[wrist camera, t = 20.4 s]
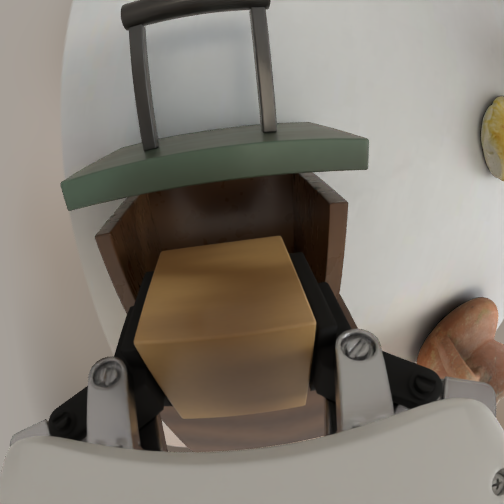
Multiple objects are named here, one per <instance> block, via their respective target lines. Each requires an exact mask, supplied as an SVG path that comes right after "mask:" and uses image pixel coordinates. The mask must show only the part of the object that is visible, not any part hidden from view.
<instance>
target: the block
mask: <svg viewBox="0 0 504 504" xmlns="http://www.w3.org/2000/svg"><path fill="white" fill-rule="evenodd" d="M315 331H316V320H315V317H314V315H313V312H312V310H311V307H310V305H309V302H308V300H307V297H306V295H305V292H304V290H303V287H302V285H301V283H300V280H299V278H298V275H297V273H296V270H295V268H294V266H293V263H292V261H291V258H290V256H289V254H288V251H287V249H286V247H285V244H284V242H283V239H282V237H281V236H272V237H264V238H256V239H248V240H241V241H233V242H225V243H218V244H210V245H203V246H195V247H188V248H181V249H173V250H166V251H162V252H161V253H160V256H159V259H158V261H157V264H156V267H155V270H154V273H153V277H152V280H151V283H150V286H149V289H148V292H147V296H146V299H145V302H144V306H143V309H142V313H141V316H140V320H139V323H138V327H137V331H136V334H135V338H134V345H135V347H136V349H137V351H138V352H139V354H140V356H141V357H142V359H143V361H144V362H145V364H146V366H147V367H148V369H149V371H150V372H151V374H152V375H153V377H154V379H155V380H156V382H157V383H158V385H159V386H160V388H161V389H162V391H163V392H164V394H165V395H166V397H167V398H168V400H169V401H170V402H171V404H172V405H173V407H174V408H175V409H176V411H177V412H178V414H179V415H180V416H181V418H183V419H194V418H215V417H228V416H239V415H248V414H256V413H264V412H271V411H277V410H283V409H289V408H294V407H300V406H304V405H306V399H307V393H308V386H309V379H310V372H311V365H312V357H313V349H314V340H315Z"/></svg>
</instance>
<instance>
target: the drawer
mask: <svg viewBox="0 0 504 504" xmlns="http://www.w3.org/2000/svg"><path fill="white" fill-rule="evenodd" d="M269 6H270V0H138V1H134V2H131V3H128V4H125V5H123V6H122V8H121V20H122V23H123V26H124V28H125V29H126V30H129V40H130V53H131V65H132V75H133V84H134V92H135V100H136V107H137V114H138V120H139V127H140V133H141V139H142V143H139V144H135V145H131V146H127V147H123V148H120V149H118V150H117V151H115V152H113V153H111V154H109V155H107V156H105V157H103V158H101V159H100V160H98V161H96V162H94V163H92V164H91V165H89V166H87V167H85V168H84V169H82V170H80V171H79V172H77V173H75V174H74V175H72V176H70V177H69V178H67V179H66V180H64V181H62V182H61V188H62V192H63V195H64V199H65V202H66V205H67V209H68V210H69V211H71V210H75V209H79V208H83V207H87V206H91V205H95V204H99V203H104V202H108V201H113V200H117V199H122V198H126V199H125V201H124V202H123V203H122V204H121V205H120V206H119V207H118V209H117V210H116V211H115V212H114V213H113V215H112V216H111V217H110V218H109V219H108V221H107V222H106V223H105V224H104V225H103V227H102V228H101V229H100V230H99V232H98V233H97V234H96V236H95V240H96V242H97V245H98V248H99V250H100V253H101V256H102V258H103V261H104V263H105V266H106V268H107V271H108V273H109V276H110V278H111V280H112V283H113V285H114V287H115V290H116V292H117V294H118V296H119V299H120V301H121V303H122V305H123V307H124V309H125V311H126V313H127V314H128V311H129V309H130V307H131V306H134V303H135V301H136V298H137V295H138V292H139V289H140V286H141V283H142V280H143V278H144V275H145V273H146V272H150V271H154V270H155V267H156V264H157V261H158V259H159V256H160V253H161V252H162V251H166V250H173V249H181V248H188V247H195V246H203V245H210V244H218V243H225V242H233V241H241V240H248V239H256V238H264V237H272V236H281V237H282V239H283V242H284V244H285V247H286V249H287V251H288V254H289V253H297V252H302V253H303V254H304V256H305V258H306V260H307V262H308V264H309V266H310V268H311V270H312V272H313V274H314V276H315V278H316V281H317V283H322V282H327V283H328V284H329V286H330V288H331V290H332V291H333V293H334V295H335V297H336V299H337V301H338V299H339V292H340V284H341V277H342V268H343V259H344V249H345V239H346V227H347V213H348V202H347V201H346V200H345V199H344V198H343V197H341V196H340V195H339V194H338V193H337V192H336V191H334V190H333V189H332V188H331V187H330V186H329V185H327V184H326V183H325V182H324V181H323V180H321V179H320V178H319V177H318V176H317V175H315V174H314V173H313V172H324V171H344V170H367V169H368V153H369V140H368V139H367V138H364V137H361V136H357V135H354V134H351V133H347V132H344V131H341V130H337V129H333V128H330V127H326V126H322V125H318V124H314V123H310V122H296V123H277V121H276V109H275V96H274V85H273V74H272V64H271V54H270V44H269V35H268V26H267V17H266V9H269ZM236 10H250V21H251V30H252V39H253V49H254V58H255V68H256V79H257V89H258V100H259V111H260V122H261V125H250V126H240V127H231V128H223V129H215V130H208V131H201V132H195V133H189V134H183V135H178V136H172V137H167V138H162V139H158V135H157V129H156V122H155V115H154V108H153V101H152V93H151V85H150V76H149V67H148V57H147V45H146V31H145V27H144V26H146V25H150V24H154V23H158V22H162V21H166V20H171V19H176V18H181V17H187V16H193V15H199V14H206V13H214V12H224V11H236Z"/></svg>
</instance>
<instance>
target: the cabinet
mask: <svg viewBox="0 0 504 504" xmlns="http://www.w3.org/2000/svg"><path fill="white" fill-rule="evenodd" d="M338 303H339V305H340V307H341V309H342V311H343V313H344V315H345V317H346V319H347V321H348V323H349V325H350V327H351V329H358V328H357V326H356V324H355V322H354V320H353V318H352V316H351V314H350V312H349V310H348V309H347V307H346V305H345V303H344V301H343V299H342V297H341V296H340V294H339V299H338ZM160 415H161V419H162V421H163V422H164V423H165V424H166V425H167V426H168V427H169V428H170V429H171V430H172V432H173V433H174V434H175V435H176V436H177V437H178V438H179V439H180V440H181V441H182V442H183V443H184V444H185V445H186V446H187V447H188V448H189V449H190V450H191V451H192V452H214V451H231V450H243V449H253V448H261V447H269V446H275V445H282V444H288V443H293V442H298V441H303V440H308V439H313V438H317V437H321V436H324V397H323V396H321V395H319V394H317V393H316V390H314V391H310V387H309V386H308V393H307V399H306V405H304V406H300V407H294V408H289V409H283V410H277V411H271V412H264V413H256V414H248V415H239V416H228V417H215V418H194V419H183V418H181V416H180V415H179V414H178V412H177V411H176V409H175V408H174V407H173V405H172V406H164V410H163V411H161V412H160Z"/></svg>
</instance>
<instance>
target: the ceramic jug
mask: <svg viewBox="0 0 504 504" xmlns="http://www.w3.org/2000/svg"><path fill="white" fill-rule="evenodd" d="M497 323H498V310H497V307H496V305H495V303H494V302H493V301H492V300H490V299H488V298H484V297H479V298H475V299H472V300H469V301H467V302H465V303H463V304H462V305H460V306H459V307H457V308H456V309H454V310H453V311H452V312H450V313H449V314H448V315H447V316H446V317H445V318H444V319H443V320H441V321H440V323H439V324H438V325H437V326H436V327H435V328H434V329H433V331H432V332H431V333H430V335H429V336H428V337H427V339H426V340H425V342H424V343H423V345H422V347H421V349H420V351H419V354H418V357H417V364H418V365H421V366H424V367H426V368H429V369H431V370H433V371H435V372H436V373H437V374H438V375H439V377H440V378H441V379H444V378H445V376H447V377H453V378H459V379H465V380H472V381H478V382H485V383H487V384H489V385H490V386H492V387H493V389H494V391H495V394H496V405H497V403H498V402H499V399H501V398H504V344H501V343H499V342H497V341H495V340H494V337H495V332H496V328H497Z"/></svg>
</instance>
